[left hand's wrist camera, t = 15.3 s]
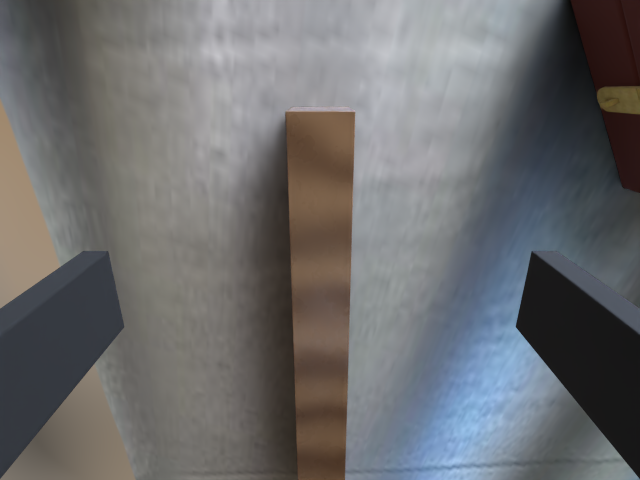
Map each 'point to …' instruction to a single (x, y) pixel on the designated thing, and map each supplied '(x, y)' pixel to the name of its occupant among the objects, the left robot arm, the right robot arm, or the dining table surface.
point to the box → (615, 75)
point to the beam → (320, 281)
